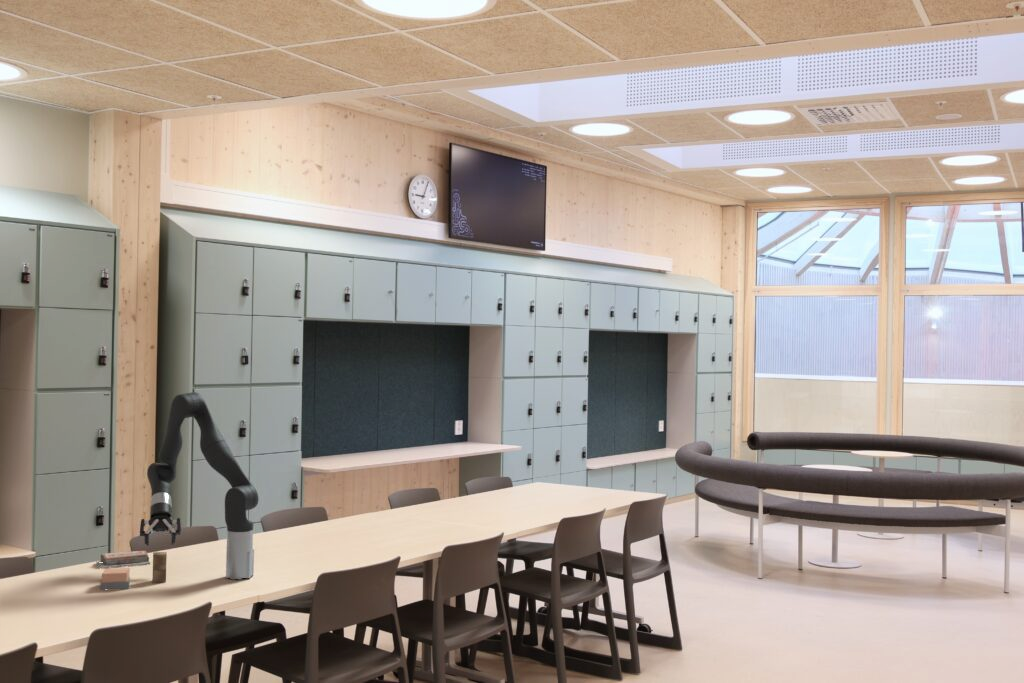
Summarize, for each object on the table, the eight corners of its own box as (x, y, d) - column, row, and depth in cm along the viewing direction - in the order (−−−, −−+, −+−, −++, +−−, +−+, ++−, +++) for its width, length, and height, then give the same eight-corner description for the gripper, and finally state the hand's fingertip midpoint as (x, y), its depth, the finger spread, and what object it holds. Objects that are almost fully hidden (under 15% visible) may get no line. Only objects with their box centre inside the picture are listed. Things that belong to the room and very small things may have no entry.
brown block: (165, 579, 350) (166, 551, 350) (165, 582, 345) (166, 554, 346) (152, 580, 348) (153, 552, 348) (152, 583, 344) (153, 555, 344)
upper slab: (129, 576, 343) (129, 567, 343) (126, 581, 335) (126, 573, 335) (105, 577, 341) (105, 568, 341) (101, 582, 333) (101, 573, 333)
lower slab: (129, 584, 344) (129, 575, 344) (128, 590, 335) (128, 581, 335) (101, 585, 340) (102, 577, 341) (100, 591, 332) (100, 583, 332)
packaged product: (145, 548, 382) (150, 553, 373) (144, 560, 382) (150, 565, 373) (96, 552, 372) (100, 557, 364) (95, 564, 372) (99, 570, 364)
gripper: (140, 502, 360) (139, 538, 349) (181, 501, 365) (181, 537, 354) (140, 514, 365) (139, 550, 354) (180, 512, 370) (180, 548, 359)
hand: (160, 543), depth 354 cm, fingers open, 8 cm apart
